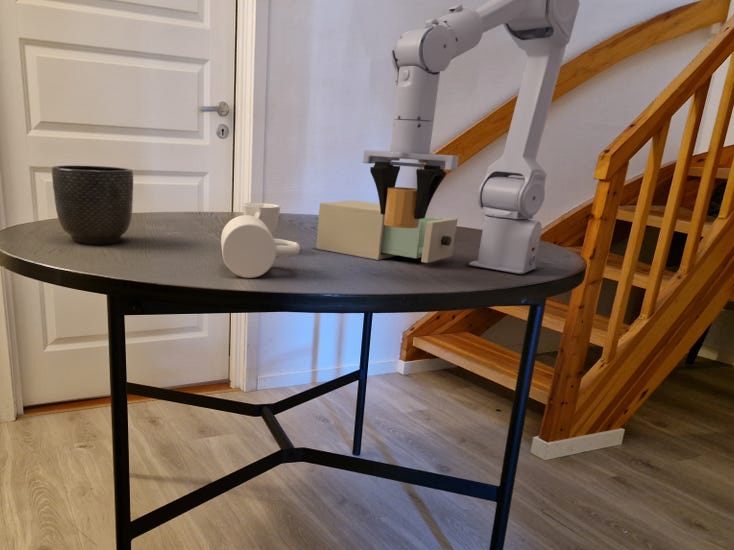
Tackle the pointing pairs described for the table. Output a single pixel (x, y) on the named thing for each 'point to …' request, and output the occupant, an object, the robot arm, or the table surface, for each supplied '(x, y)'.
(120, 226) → the planter
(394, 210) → the tumbler
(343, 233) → the cabinet
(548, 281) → the table surface
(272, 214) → the cup
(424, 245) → the drawer
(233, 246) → the mug
